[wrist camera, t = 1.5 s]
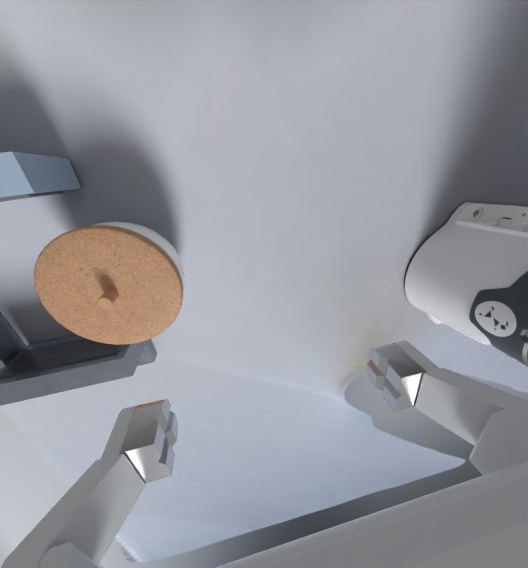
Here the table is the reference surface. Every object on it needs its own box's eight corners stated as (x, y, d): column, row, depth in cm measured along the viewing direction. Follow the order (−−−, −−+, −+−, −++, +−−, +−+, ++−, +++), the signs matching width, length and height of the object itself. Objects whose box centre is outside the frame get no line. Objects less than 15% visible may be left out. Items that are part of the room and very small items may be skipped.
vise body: (67, 151, 20) (7, 142, 14) (156, 354, 31) (143, 394, 25) (-137, 175, 19) (-297, 176, 13) (33, 380, 29) (-13, 431, 23)
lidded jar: (154, 193, 23) (118, 204, 15) (208, 279, 28) (204, 324, 19) (60, 240, 23) (-29, 276, 15) (130, 317, 28) (93, 377, 20)
